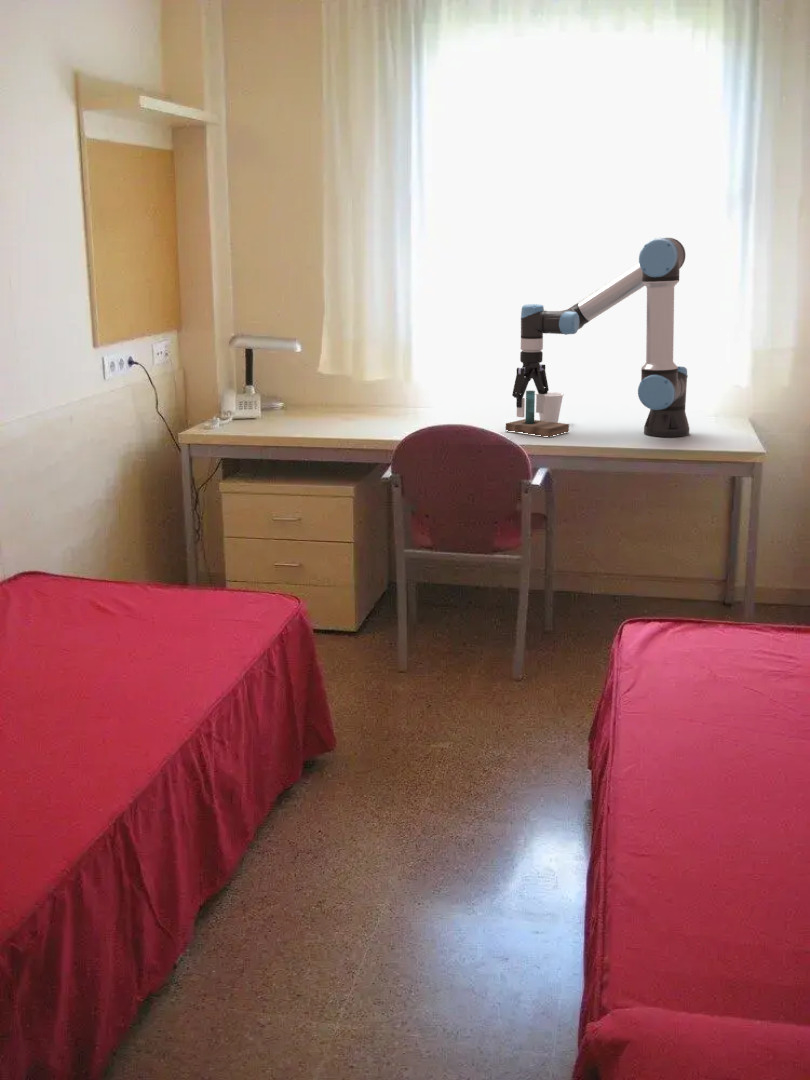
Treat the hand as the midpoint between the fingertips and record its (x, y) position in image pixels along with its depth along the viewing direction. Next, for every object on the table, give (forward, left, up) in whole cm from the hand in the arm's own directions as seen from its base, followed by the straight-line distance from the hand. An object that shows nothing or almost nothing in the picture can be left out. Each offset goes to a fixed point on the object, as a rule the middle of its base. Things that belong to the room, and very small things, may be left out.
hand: (530, 414), depth 398 cm
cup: (+3, -16, -6) cm, 17 cm away
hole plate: (-3, 0, -6) cm, 7 cm away
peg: (0, 0, -6) cm, 6 cm away
